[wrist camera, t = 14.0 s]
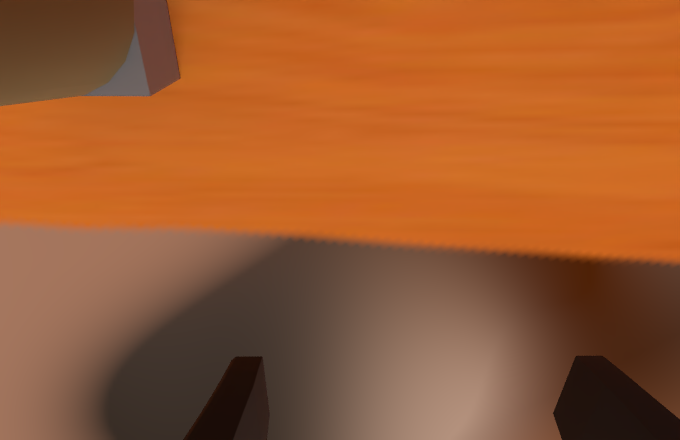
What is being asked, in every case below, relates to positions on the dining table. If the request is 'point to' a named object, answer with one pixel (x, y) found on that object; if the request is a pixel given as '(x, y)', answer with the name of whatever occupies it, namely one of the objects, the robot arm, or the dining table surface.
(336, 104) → the dining table surface
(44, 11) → the cork
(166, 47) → the block
